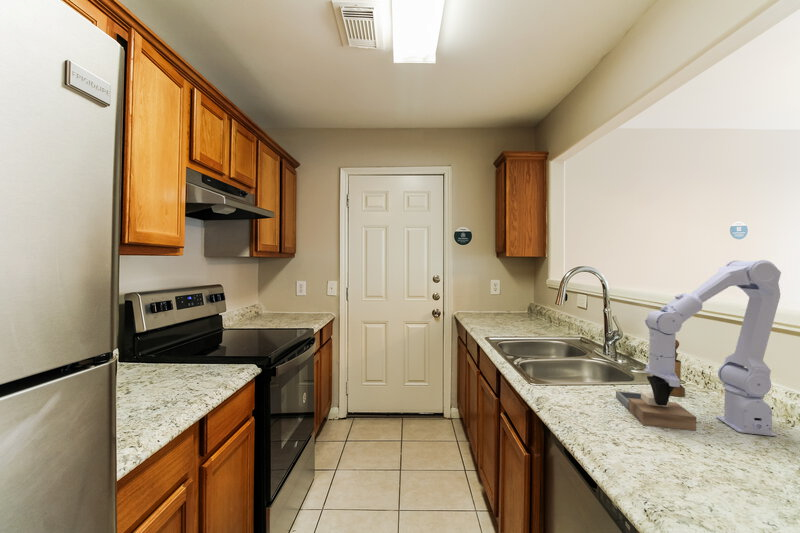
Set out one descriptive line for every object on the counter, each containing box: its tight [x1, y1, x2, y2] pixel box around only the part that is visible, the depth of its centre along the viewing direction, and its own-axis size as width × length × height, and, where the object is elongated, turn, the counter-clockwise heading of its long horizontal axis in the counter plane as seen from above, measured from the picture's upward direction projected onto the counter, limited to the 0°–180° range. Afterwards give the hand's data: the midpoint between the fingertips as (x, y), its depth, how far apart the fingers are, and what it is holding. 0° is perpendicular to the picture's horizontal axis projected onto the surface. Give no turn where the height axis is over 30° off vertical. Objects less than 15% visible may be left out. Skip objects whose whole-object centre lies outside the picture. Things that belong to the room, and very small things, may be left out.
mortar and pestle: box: [670, 339, 686, 398], centre depth 118 cm, size 7×6×18 cm
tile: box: [640, 391, 670, 407], centre depth 101 cm, size 5×5×2 cm
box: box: [615, 390, 641, 410], centre depth 108 cm, size 10×12×2 cm
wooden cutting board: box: [628, 398, 697, 431], centre depth 97 cm, size 10×12×4 cm
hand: (660, 404), depth 97 cm, fingers closed
